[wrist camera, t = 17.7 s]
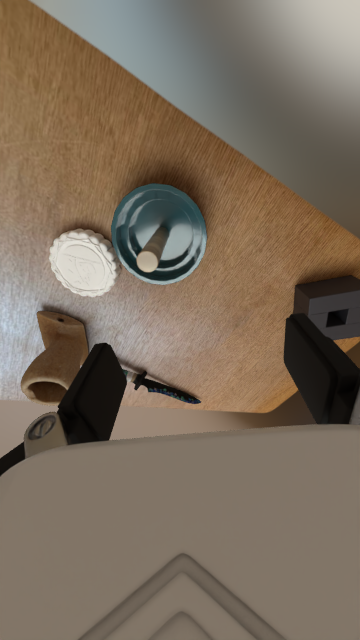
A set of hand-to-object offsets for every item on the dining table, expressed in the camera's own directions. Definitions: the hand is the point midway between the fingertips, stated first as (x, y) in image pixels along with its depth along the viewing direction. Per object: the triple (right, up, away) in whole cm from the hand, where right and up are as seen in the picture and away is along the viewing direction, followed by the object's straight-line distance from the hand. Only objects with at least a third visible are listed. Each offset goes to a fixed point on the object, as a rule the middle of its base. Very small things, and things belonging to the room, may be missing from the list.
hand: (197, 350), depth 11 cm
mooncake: (-18, +13, +29) cm, 37 cm away
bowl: (-4, +17, +26) cm, 31 cm away
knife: (-8, -14, +46) cm, 48 cm away
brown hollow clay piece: (-26, -3, +39) cm, 47 cm away
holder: (+28, +5, +32) cm, 43 cm away
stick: (-4, +16, +25) cm, 30 cm away
